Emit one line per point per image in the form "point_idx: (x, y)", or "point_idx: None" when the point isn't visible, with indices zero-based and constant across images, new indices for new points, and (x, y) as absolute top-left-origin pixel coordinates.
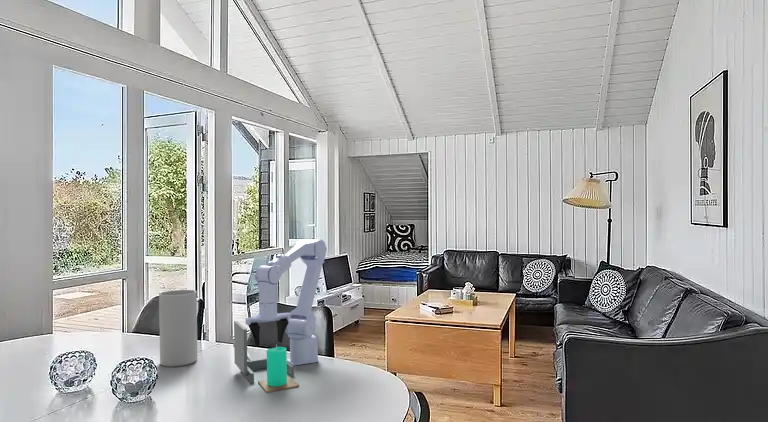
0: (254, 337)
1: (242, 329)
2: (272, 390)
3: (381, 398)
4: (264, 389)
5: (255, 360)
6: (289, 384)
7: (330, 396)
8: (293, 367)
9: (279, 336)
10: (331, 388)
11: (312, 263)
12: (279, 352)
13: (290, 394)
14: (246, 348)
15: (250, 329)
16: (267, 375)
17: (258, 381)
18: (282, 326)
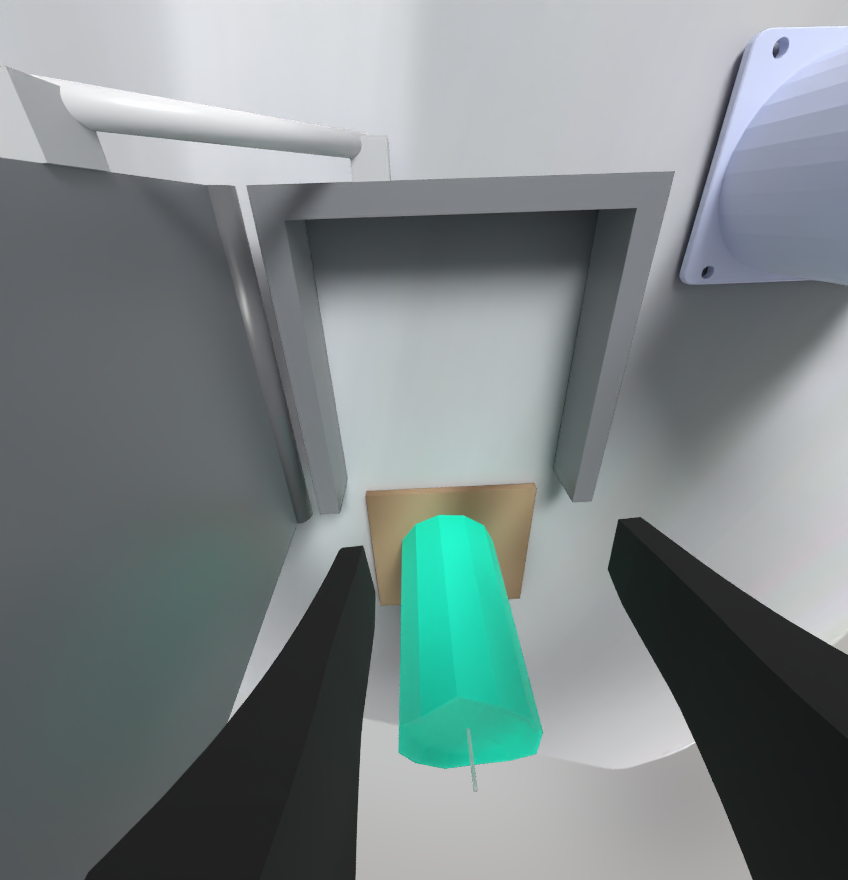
0: (311, 630)
1: None
2: None
3: (665, 717)
4: (378, 580)
5: (397, 203)
6: None
7: (562, 678)
8: (587, 497)
9: (649, 614)
10: (608, 636)
11: None
12: (468, 762)
13: None
14: (235, 682)
15: (194, 772)
16: (401, 584)
17: (367, 498)
18: (752, 844)
